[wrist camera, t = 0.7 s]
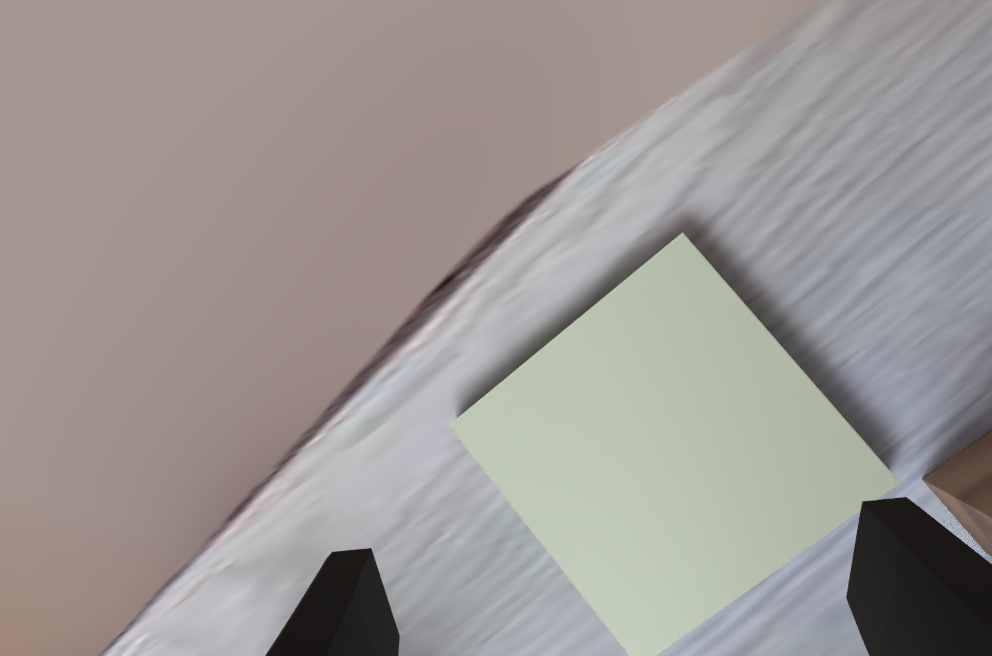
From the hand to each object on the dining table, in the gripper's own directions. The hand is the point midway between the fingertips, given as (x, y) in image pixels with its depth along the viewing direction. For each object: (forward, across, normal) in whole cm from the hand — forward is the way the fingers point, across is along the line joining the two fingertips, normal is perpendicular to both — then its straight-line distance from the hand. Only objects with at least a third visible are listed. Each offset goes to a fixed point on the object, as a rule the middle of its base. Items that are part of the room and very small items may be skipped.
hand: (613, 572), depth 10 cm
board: (+18, -4, +13) cm, 23 cm away
